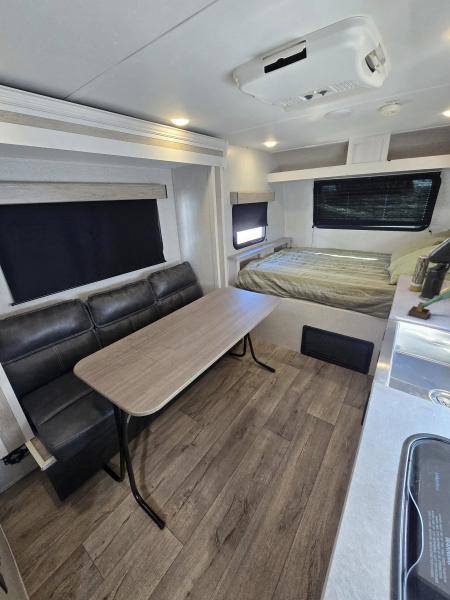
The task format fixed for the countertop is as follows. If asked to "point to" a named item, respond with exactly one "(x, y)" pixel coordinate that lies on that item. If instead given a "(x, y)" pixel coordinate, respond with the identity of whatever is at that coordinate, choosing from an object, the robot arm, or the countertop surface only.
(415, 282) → the bark textured cylinder
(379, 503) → the countertop surface
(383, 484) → the countertop surface
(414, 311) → the brush stand
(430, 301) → the brush
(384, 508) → the countertop surface
